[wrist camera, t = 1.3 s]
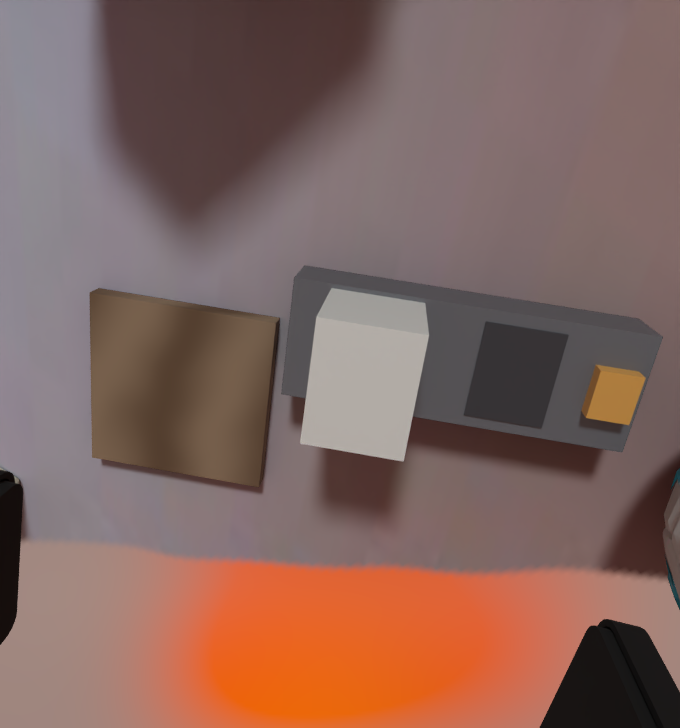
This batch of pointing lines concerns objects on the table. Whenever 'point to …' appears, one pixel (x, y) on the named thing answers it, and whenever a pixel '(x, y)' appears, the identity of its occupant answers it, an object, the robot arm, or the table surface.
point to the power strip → (502, 360)
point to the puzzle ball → (673, 538)
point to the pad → (181, 385)
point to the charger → (364, 373)
